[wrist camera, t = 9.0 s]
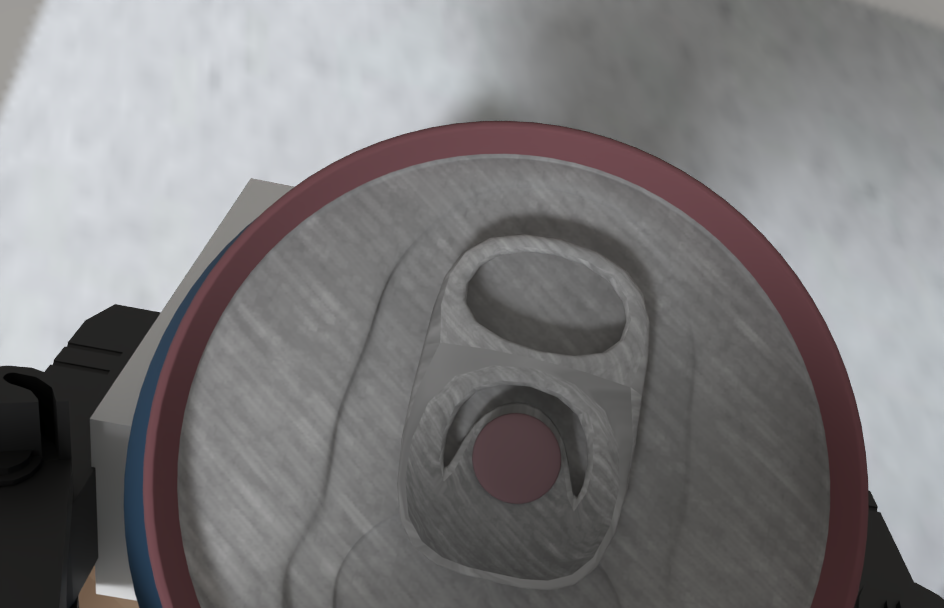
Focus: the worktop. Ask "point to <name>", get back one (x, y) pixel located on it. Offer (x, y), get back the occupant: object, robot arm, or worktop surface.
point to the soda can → (497, 396)
